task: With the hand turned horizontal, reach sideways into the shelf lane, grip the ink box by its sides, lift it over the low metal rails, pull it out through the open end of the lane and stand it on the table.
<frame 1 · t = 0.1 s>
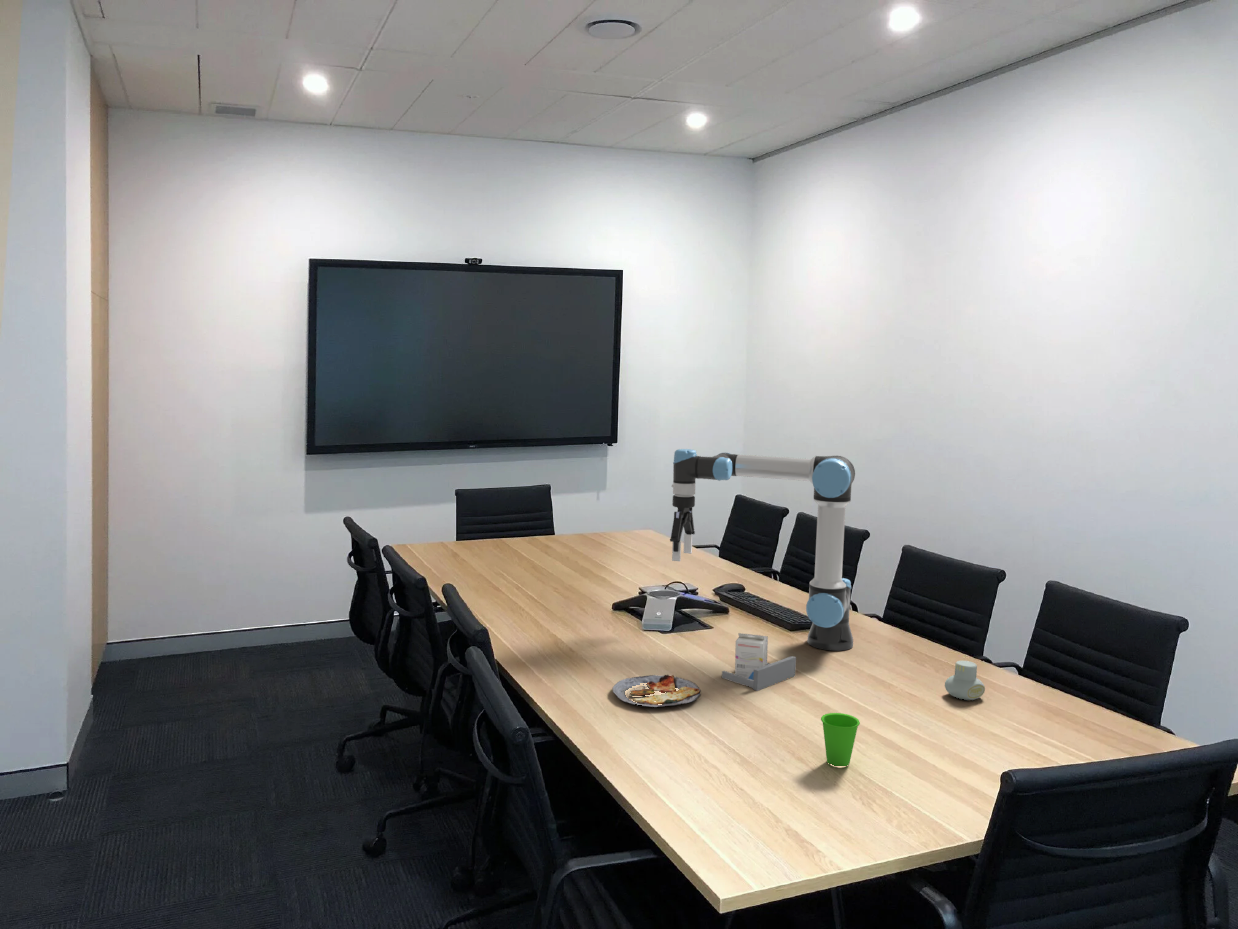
hand: (682, 557, 324), 28 cm above the table, tool pointing down, fingers open, 13 cm apart
cup: (838, 764, 229), on the table
shelf lane: (750, 675, 290), on the table
ink box: (750, 676, 290), on the table
food plate: (656, 697, 271), on the table
air freshener: (963, 697, 276), on the table
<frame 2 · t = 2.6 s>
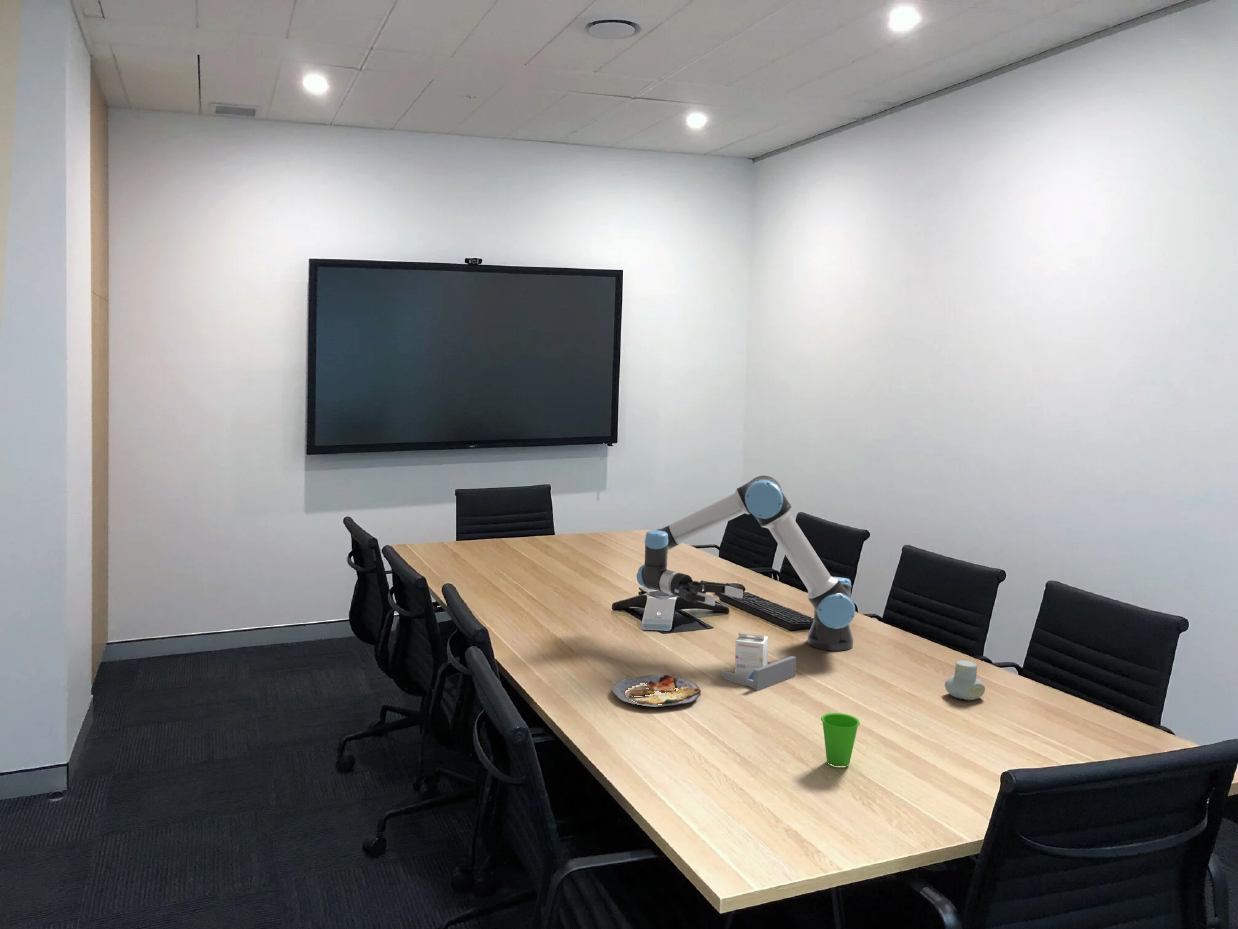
hand: (728, 597, 295), 22 cm above the table, tool horizontal, fingers open, 13 cm apart
nothing on the table moved.
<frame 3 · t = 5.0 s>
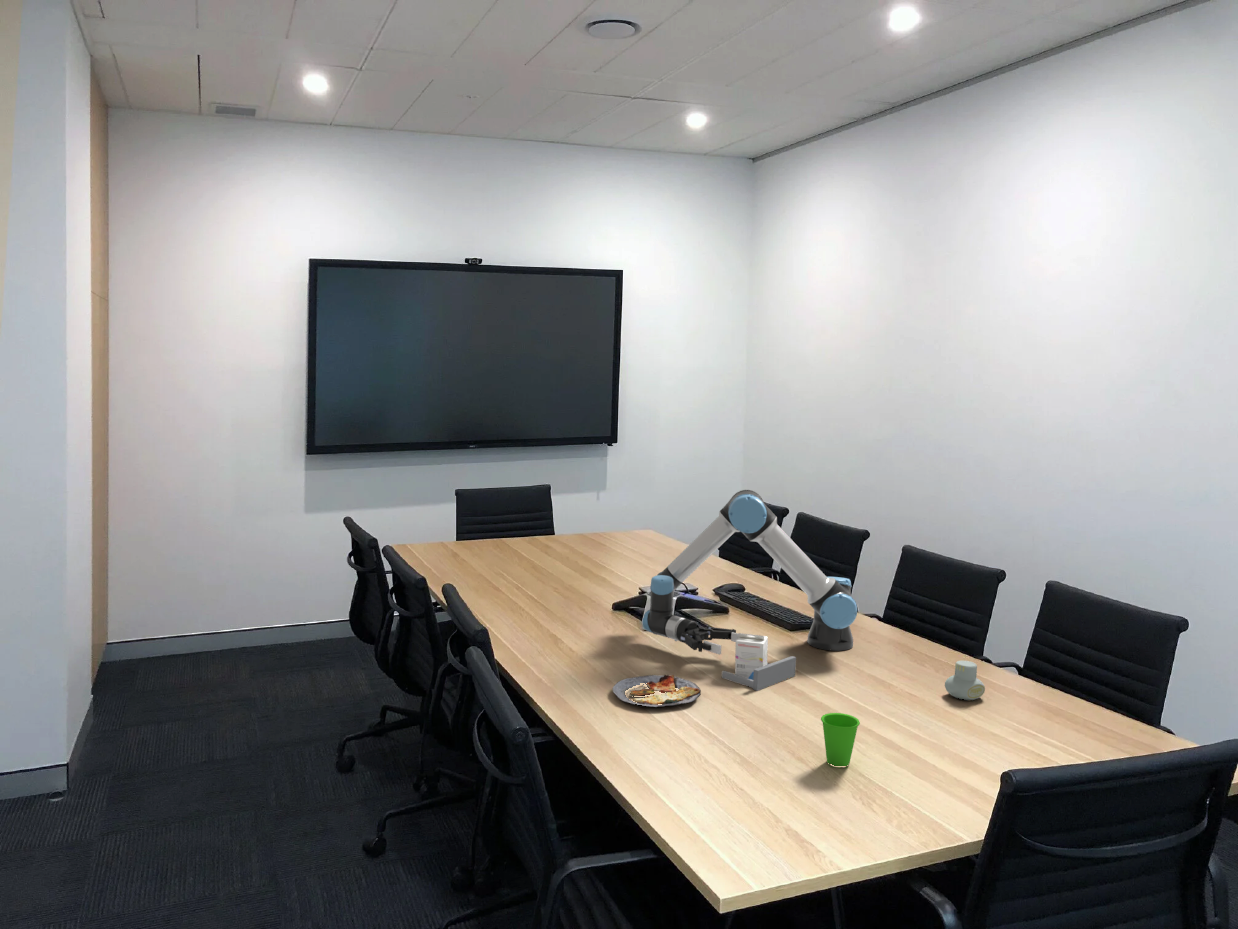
hand: (734, 645, 293), 8 cm above the table, tool horizontal, fingers open, 13 cm apart
nothing on the table moved.
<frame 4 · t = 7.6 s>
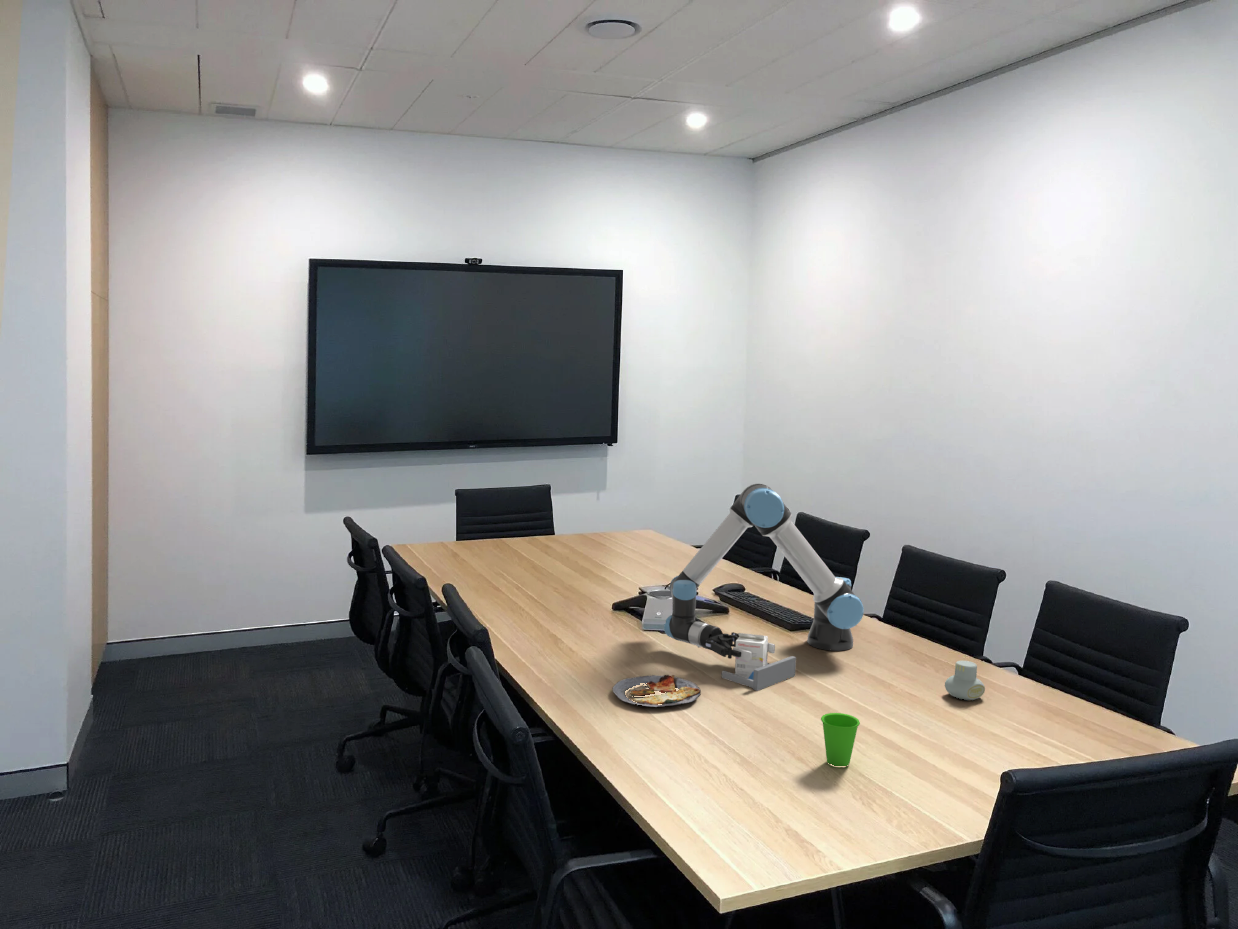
hand: (762, 652, 286), 8 cm above the table, tool horizontal, fingers closed on ink box, 11 cm apart
ink box: (751, 675, 290), on the table, touching gripper
everything else where it was.
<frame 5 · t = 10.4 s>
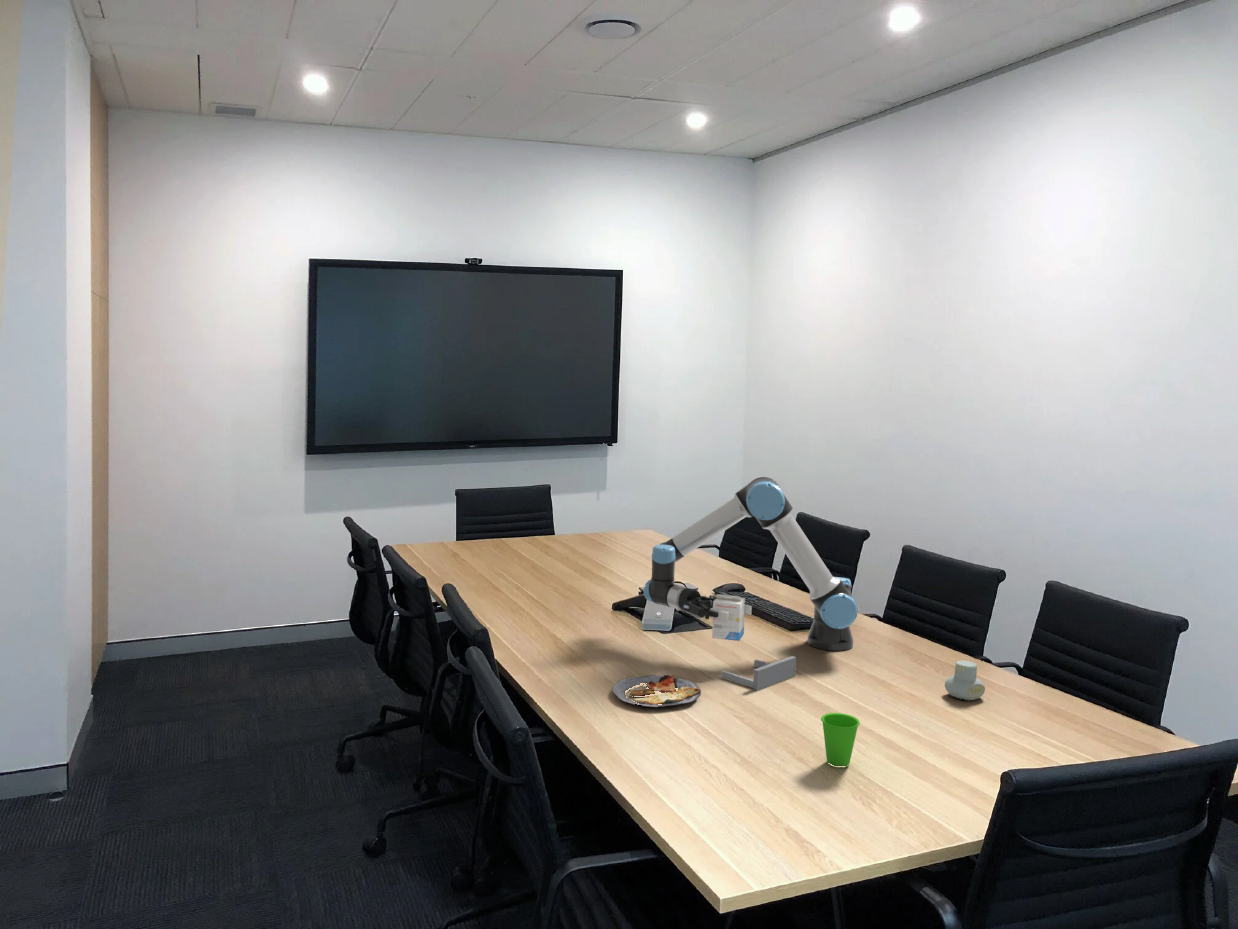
hand: (739, 613, 292), 18 cm above the table, tool horizontal, fingers closed on ink box, 11 cm apart
ink box: (728, 636, 295), point 10 cm above the table, touching gripper
everything else where it was.
when the fingers open (9 cm above the table, at t = 13.4 s): ink box drops 1 cm, on the table.
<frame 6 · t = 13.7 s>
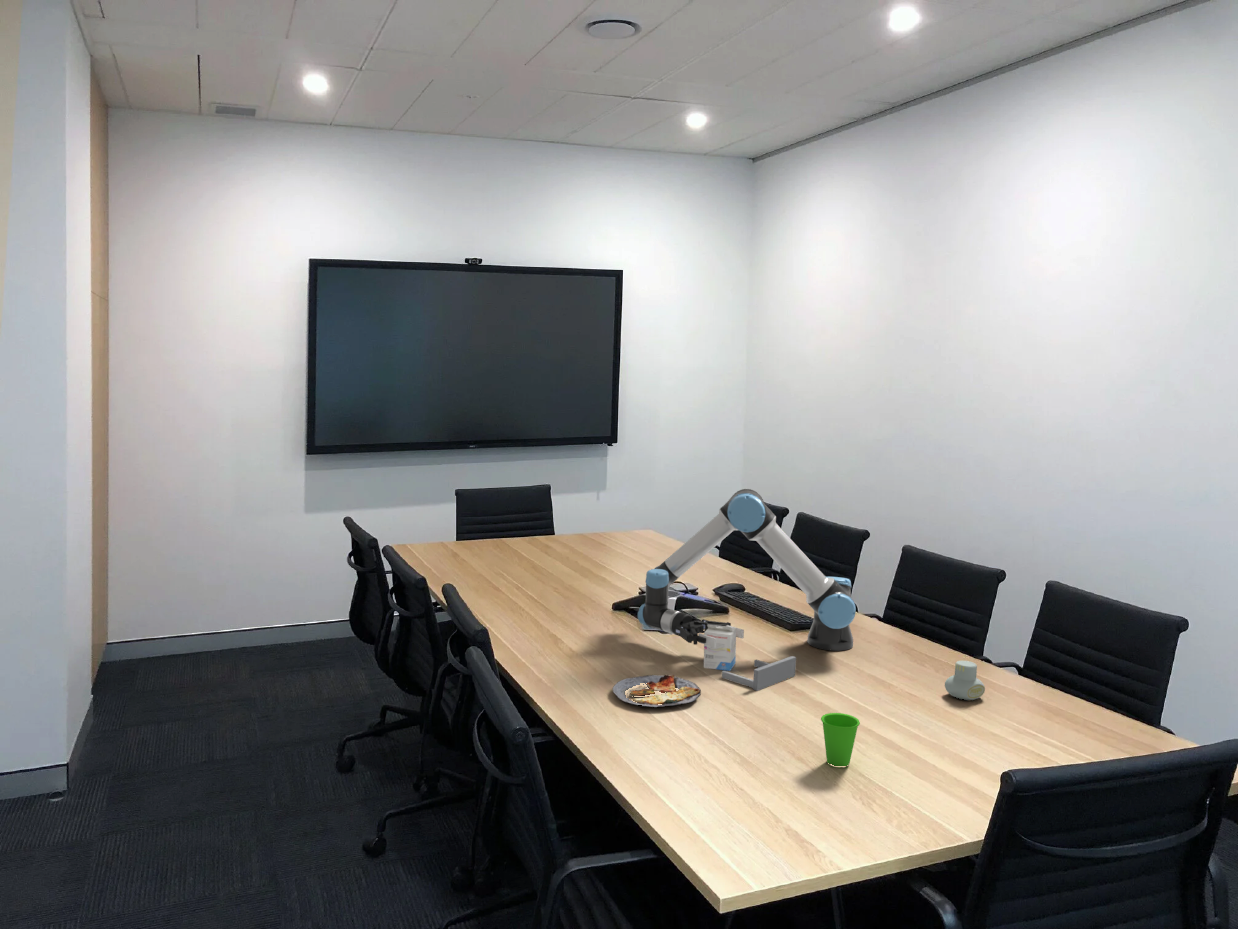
hand: (729, 638, 295), 9 cm above the table, tool horizontal, fingers open, 13 cm apart
ink box: (719, 666, 299), on the table
everything else where it was.
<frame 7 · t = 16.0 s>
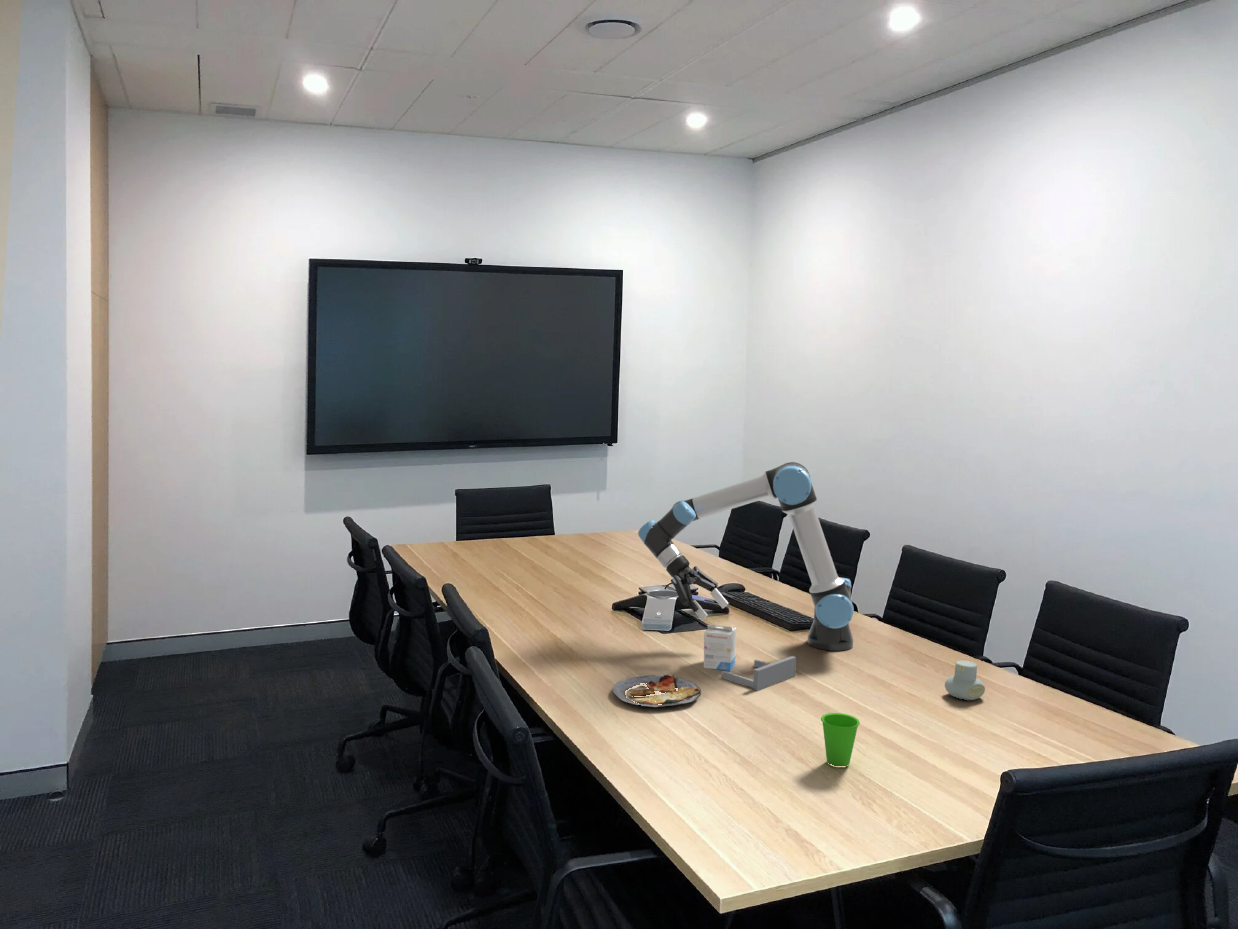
hand: (715, 612, 307), 14 cm above the table, tool tilted 45°, fingers open, 13 cm apart
nothing on the table moved.
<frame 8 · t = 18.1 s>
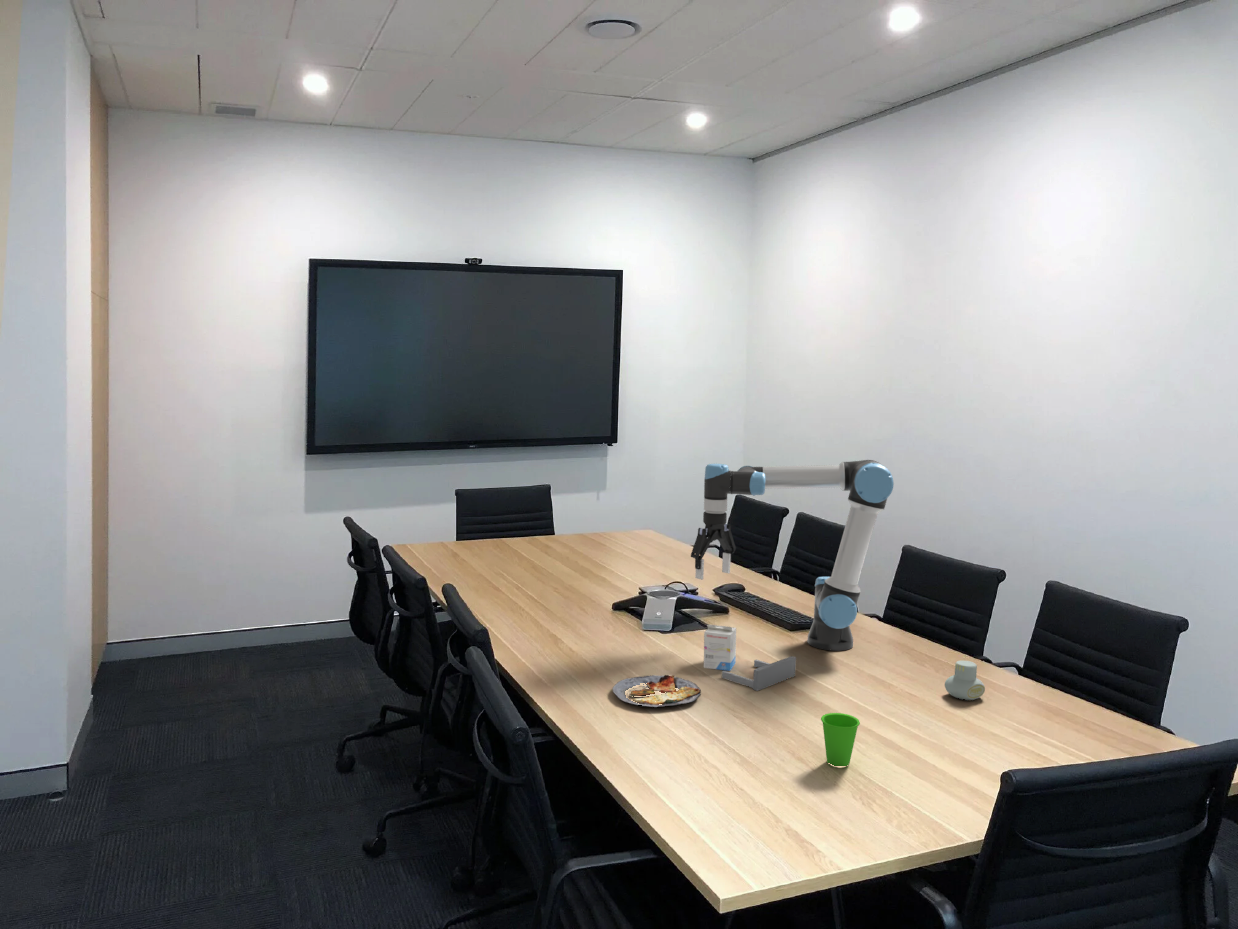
hand: (712, 575, 312), 25 cm above the table, tool pointing down, fingers open, 13 cm apart
nothing on the table moved.
at the end: ink box inside the target area (0.0 cm from its centre), on the table; ink box tilted 0°; the gripper is holding nothing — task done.
